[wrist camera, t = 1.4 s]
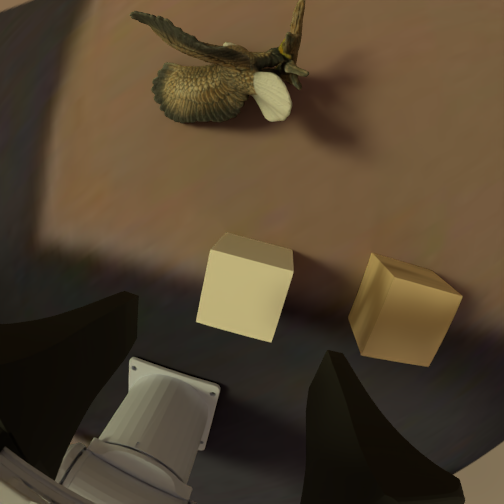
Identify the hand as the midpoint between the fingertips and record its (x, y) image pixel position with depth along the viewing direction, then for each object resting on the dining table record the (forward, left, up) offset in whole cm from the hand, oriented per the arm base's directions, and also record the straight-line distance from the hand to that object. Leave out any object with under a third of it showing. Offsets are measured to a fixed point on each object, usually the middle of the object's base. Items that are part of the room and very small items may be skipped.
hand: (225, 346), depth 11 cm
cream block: (-1, 0, -11) cm, 11 cm away
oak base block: (0, -10, -11) cm, 15 cm away
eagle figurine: (+12, +5, -11) cm, 17 cm away
